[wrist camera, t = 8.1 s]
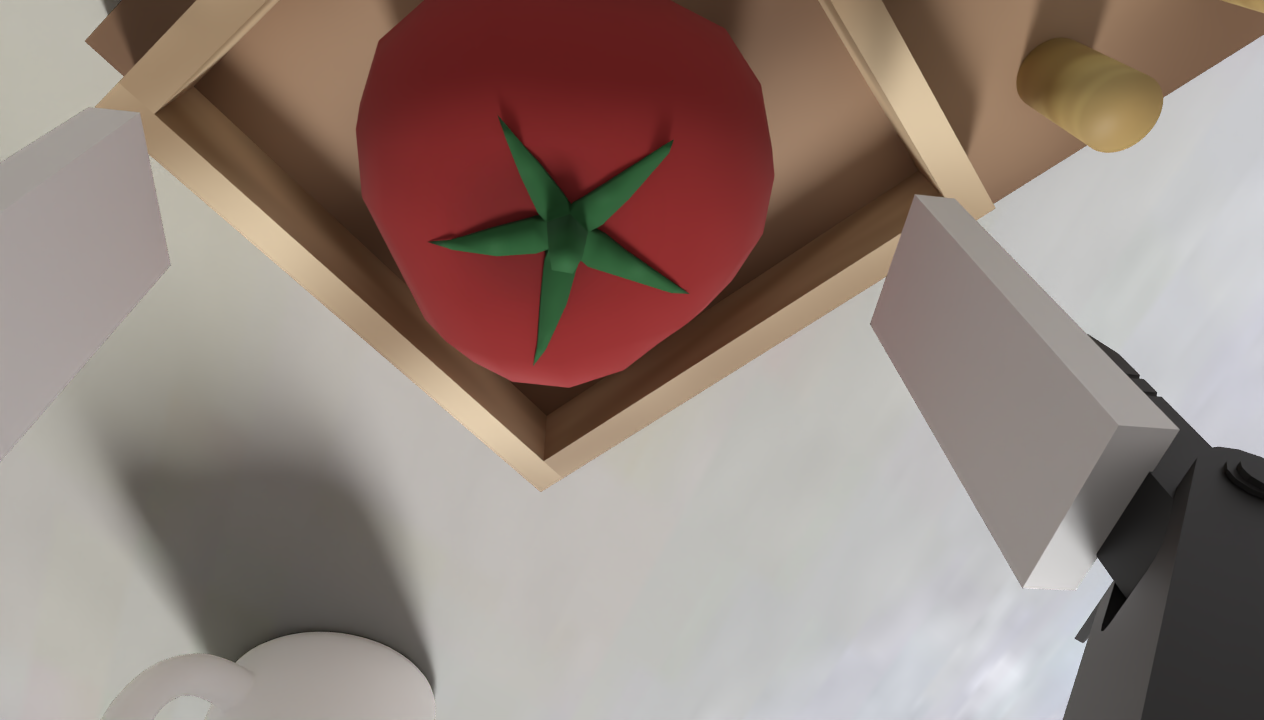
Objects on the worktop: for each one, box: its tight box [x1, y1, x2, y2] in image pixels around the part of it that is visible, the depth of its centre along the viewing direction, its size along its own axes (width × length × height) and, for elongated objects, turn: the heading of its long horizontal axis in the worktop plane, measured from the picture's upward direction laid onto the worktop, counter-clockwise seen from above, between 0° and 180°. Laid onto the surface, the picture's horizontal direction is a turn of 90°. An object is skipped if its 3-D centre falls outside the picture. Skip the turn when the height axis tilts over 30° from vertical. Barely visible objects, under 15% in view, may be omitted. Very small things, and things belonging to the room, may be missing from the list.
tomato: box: [356, 0, 775, 388], centre depth 16 cm, size 8×8×7 cm
